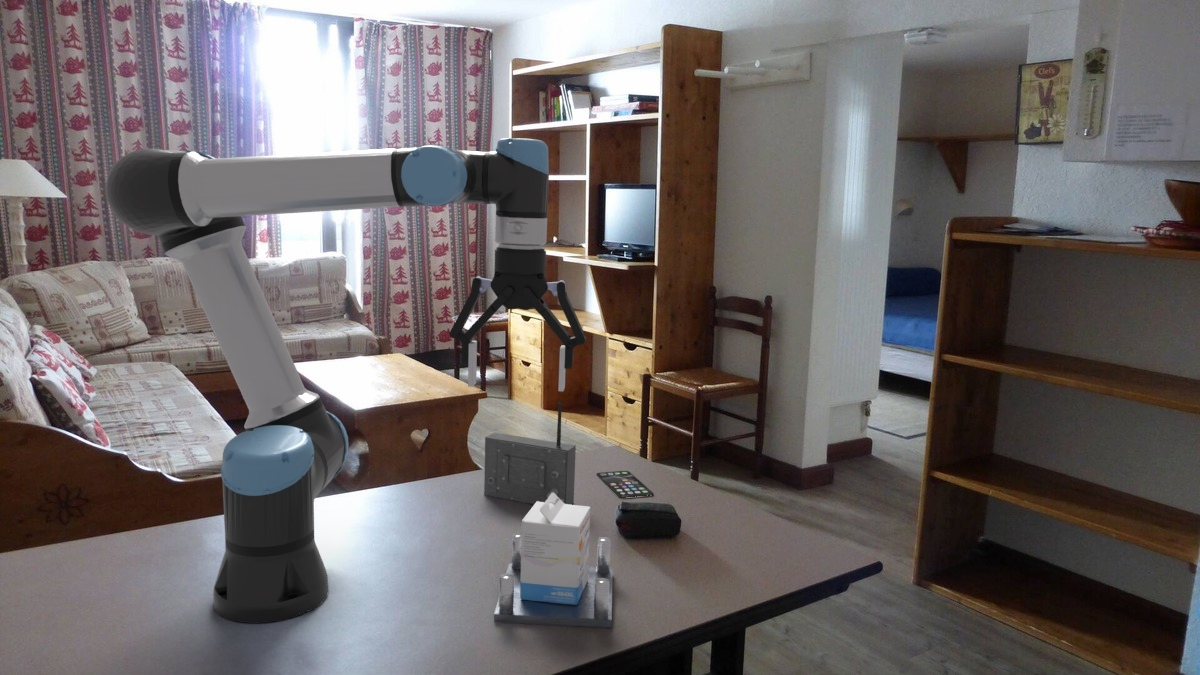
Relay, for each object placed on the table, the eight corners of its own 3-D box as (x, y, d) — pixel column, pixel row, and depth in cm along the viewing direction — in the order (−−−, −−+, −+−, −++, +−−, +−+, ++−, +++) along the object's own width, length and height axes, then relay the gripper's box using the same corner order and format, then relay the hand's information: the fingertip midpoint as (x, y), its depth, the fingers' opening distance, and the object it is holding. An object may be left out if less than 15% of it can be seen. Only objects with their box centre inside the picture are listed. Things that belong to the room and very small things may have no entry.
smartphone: (628, 470, 181) (655, 494, 167) (628, 473, 181) (655, 497, 167) (595, 472, 179) (619, 497, 165) (594, 475, 179) (619, 500, 165)
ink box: (577, 606, 120) (580, 515, 118) (518, 599, 121) (521, 509, 119) (588, 579, 128) (592, 494, 126) (534, 573, 130) (536, 488, 127)
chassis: (493, 622, 117) (494, 579, 116) (508, 570, 133) (509, 532, 132) (611, 627, 117) (613, 585, 116) (612, 575, 133) (614, 537, 132)
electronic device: (574, 503, 162) (577, 400, 159) (559, 515, 156) (562, 408, 152) (492, 488, 168) (494, 389, 165) (474, 499, 162) (476, 396, 159)
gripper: (430, 244, 123) (429, 388, 127) (604, 252, 123) (598, 397, 126) (442, 240, 131) (440, 377, 134) (606, 248, 130) (600, 385, 134)
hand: (516, 387), depth 130 cm, fingers open, 13 cm apart
